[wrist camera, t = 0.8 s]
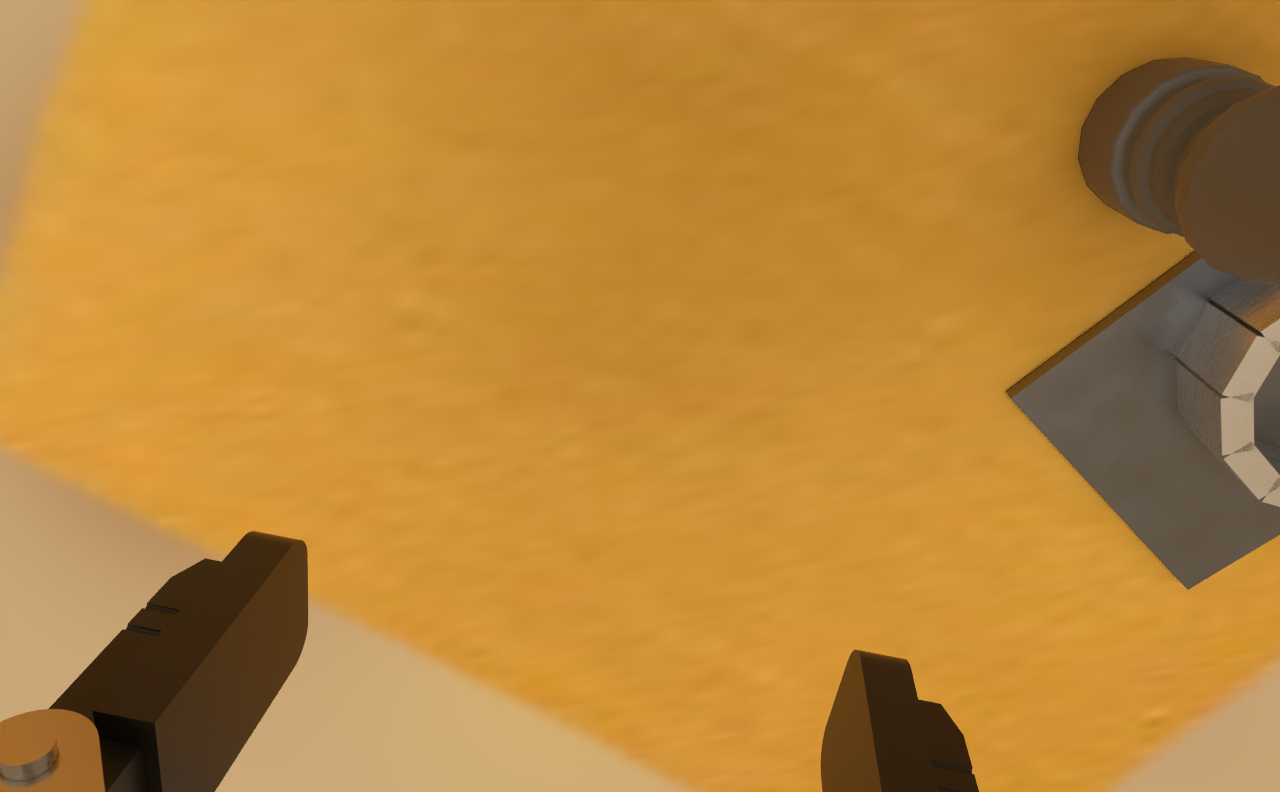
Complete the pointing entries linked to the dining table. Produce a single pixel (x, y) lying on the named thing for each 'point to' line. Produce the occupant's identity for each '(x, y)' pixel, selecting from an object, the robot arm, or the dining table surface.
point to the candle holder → (1193, 160)
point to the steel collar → (1175, 415)
